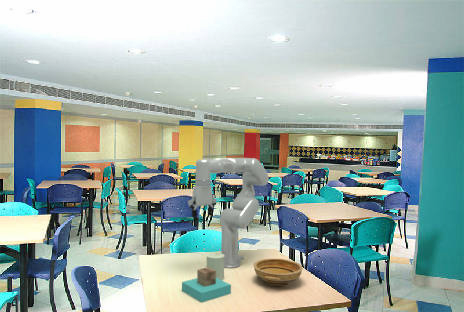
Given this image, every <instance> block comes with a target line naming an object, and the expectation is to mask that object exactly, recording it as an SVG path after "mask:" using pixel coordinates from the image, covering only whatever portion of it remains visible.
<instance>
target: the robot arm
mask: <svg viewBox="0 0 464 312" xmlns="http://www.w3.org/2000/svg"><path fill="white" fill-rule="evenodd" d="M220 173H223V174H224V173H225V174H238V173H243V174H242V188H241V191H240V192H239V193H238V195H236V197H235V198H234V200H233V201H232V204H231V208H225V209H222V211H221V213H220V216H219V219H220V226H221V254H224V269H225V268H226V269H234V268H238V267H240V266H241V260H245V255H239V230H238V229H245V228H247V227H248V226H249V225H250V223H251V222H252V221H253V219H254V218H255V217H256V215H257V214H258V211H259V209H260V203H259V200H258V199H257V198H255V196H256V191H255V188H254V186H266V185H268V182H269V181H270V179H269V178H270V177H269V174H268V172H267V170H266V169H265V168H264V165H263V164H262V163H261V162H260V160H259V159H257V158H255V157H252V158H251V157H224V158H203V159H197V160H196V161H195V185H194V186H193V190H192V197H191V199H189V200H188V201H187V204H188V206H189V208H190V210H191V217H192V218H193V219H197V217H198V211H197V209H198V207H203V206H204V207H205V206H207V216H208V217H211V216H212V217H213V209H214V207H215V205H216V202H217V198H215V197H213V189H212V185H211V184H212V180H211V174H220Z"/></svg>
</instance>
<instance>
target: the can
mask: <svg viewBox="0 0 464 312" xmlns="http://www.w3.org/2000/svg"><path fill="white" fill-rule="evenodd" d="M207 267H209V268H211V269H213V270H215V271H216V278H218V279H220V280H222V281H224V279H225V268H224V254H221V253H220V252H211V253H207V254H206V268H207Z"/></svg>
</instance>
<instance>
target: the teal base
mask: <svg viewBox="0 0 464 312" xmlns="http://www.w3.org/2000/svg"><path fill="white" fill-rule="evenodd" d="M181 291H182V292H184V293H186V294H187V295H189V296H190V297H192V298H194V299H195V300H197V301H199V302H200V303H204V302H208V301H211V300H214V299H218V298H220V297H223V296H228V295H230V294H231V293H232V284H230V283H228V282H226V281H224V280H220V279H218V278H216V284H213V285H210V286H206V287H204V286H202V285H201V284H199V283H197V277H196V278H192V279H189V280H184V281H181Z"/></svg>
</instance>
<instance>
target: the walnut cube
mask: <svg viewBox="0 0 464 312" xmlns="http://www.w3.org/2000/svg"><path fill="white" fill-rule="evenodd" d="M196 274H197V276H196V278H197V283H199V284H201V285H202V286H204V287H206V286H210V285H213V284H216V271H215V270H213V269H211V268H209V267H207V266H206V267H203V268H200V269H199V268H198V269H197V273H196Z"/></svg>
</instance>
